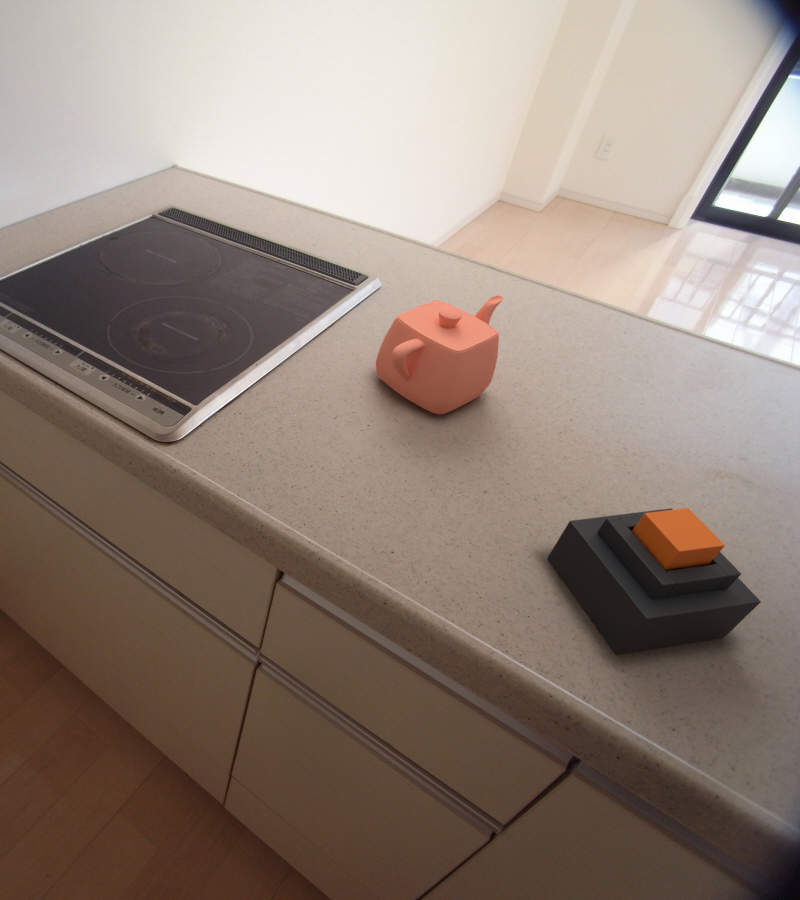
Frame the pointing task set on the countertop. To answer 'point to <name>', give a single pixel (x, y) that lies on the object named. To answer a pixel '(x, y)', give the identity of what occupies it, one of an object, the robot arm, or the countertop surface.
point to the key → (677, 538)
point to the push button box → (646, 588)
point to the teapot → (440, 355)
